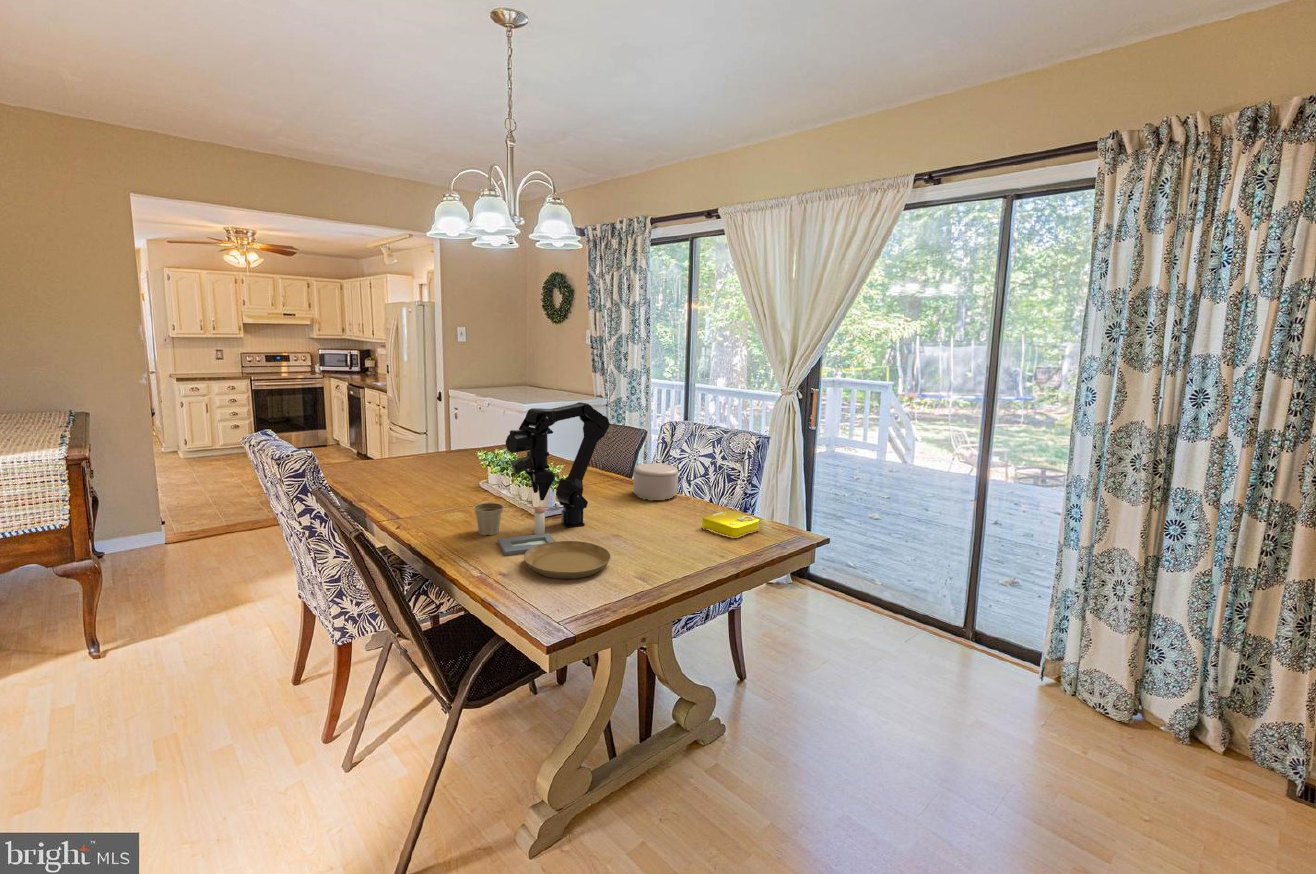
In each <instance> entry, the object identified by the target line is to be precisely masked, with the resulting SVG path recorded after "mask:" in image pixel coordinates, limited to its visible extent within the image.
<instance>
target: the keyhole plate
mask: <svg viewBox="0 0 1316 874" xmlns="http://www.w3.org/2000/svg"><path fill="white" fill-rule="evenodd" d="M549 542H556V540H555V539H554V538H553V536H552V535H551V534H550V533H549V532H546V533H545V534H537V535H535V534H530V535H519V536H509V537H499V538H497V543H498V545H499V548H501V549H500V550H502V552H503V554H504V556H505V557H506V556H514V555H515V556H517V555H520V554H521V555H525V553H526V552H527V551H528V550H529V549H531V548H533V547H535V546H537V545H541V544H544V543H549Z"/></svg>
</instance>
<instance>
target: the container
mask: <svg viewBox="0 0 1316 874" xmlns="http://www.w3.org/2000/svg"><path fill="white" fill-rule="evenodd" d="M632 485H633V486H632V487H633V494H635V495H636V496H637V498H639V497H640V498H639V499H641V498H643V499H642V500H645V499H648V500H647V501H653V500H662V501H666V500H665V499H669V498H671V497H673V496H674V497H675V496H678V491H679V490H678V488H679V470H678V468H677V467H675V466H674V465H671V464H666V463H660V462H659V463H658V462H657V463H655V462H653V463H652V462H649V463H642V464H638V465H636V466H634V468H633V484H632ZM674 497H673V498H674ZM669 500H670V499H669Z"/></svg>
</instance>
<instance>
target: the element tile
mask: <svg viewBox="0 0 1316 874" xmlns="http://www.w3.org/2000/svg"><path fill="white" fill-rule="evenodd" d="M701 519H702V520H701V528H704V529H710V530H713V531H715V532H718V533H721V534H724V535H728V536H732V537H737V536H740V535H743V534H745V533H748V532H751V531H754V530H757V529H759V530H760V521H761V520H760V519H759V518H756V517H754V516H750V515H746V514H744V513H740V512H737V511H733V510H730V509H728V510H723V511H719V512H716V513H712V514H708V515H704V516H703V517H702V518H701ZM704 529H703V530H704Z"/></svg>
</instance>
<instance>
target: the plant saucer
mask: <svg viewBox="0 0 1316 874" xmlns="http://www.w3.org/2000/svg"><path fill="white" fill-rule="evenodd" d="M555 541H556V540H555ZM611 557H612V556H611V553H610V551H609V550H608V549H606V548H604V547H603V546H600V545H598V544H595V543H591V542H586V541H579V540H557V541H556V542H549V543H544V544H541V545H537V546H535V547H533V548H531V549H529V550H528V551H527V552H526V553H524V554H523V558H524V561H525V563H526V565H527V566H528V568H530V569H531V570H532V571H534V572H535V573H537V574H539V575H541V576H543V577H547V578H552V579H558V580H559V579H561V580H571V579H573V580H574V579H580V578H586V577H589V576H592V575H594V574H598V573H599V572H601V571H602V570H603V569H605V568H606V566H607V565H608V563H609V562H610V561H611Z"/></svg>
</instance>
